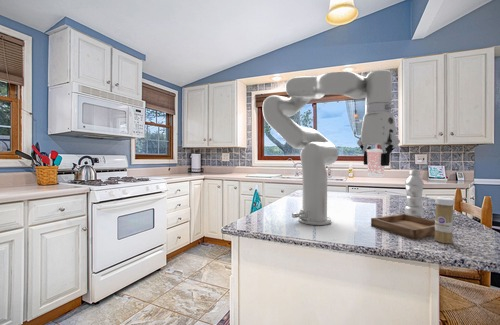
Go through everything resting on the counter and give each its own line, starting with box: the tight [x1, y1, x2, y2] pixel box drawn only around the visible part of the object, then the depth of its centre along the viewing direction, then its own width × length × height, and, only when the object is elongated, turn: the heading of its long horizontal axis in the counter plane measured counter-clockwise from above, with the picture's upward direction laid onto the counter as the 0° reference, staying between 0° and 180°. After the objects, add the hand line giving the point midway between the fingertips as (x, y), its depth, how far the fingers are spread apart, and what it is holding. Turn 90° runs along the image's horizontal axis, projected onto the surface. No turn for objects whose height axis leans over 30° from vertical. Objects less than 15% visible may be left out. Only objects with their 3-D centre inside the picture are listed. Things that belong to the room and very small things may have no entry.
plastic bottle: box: [404, 169, 425, 218], centre depth 106 cm, size 6×7×20 cm
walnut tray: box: [370, 213, 435, 241], centre depth 90 cm, size 18×16×3 cm
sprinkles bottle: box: [433, 196, 455, 244], centre depth 78 cm, size 5×5×13 cm
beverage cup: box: [366, 144, 386, 178], centre depth 83 cm, size 6×6×14 cm
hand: (376, 164), depth 83 cm, fingers closed on beverage cup, 6 cm apart
